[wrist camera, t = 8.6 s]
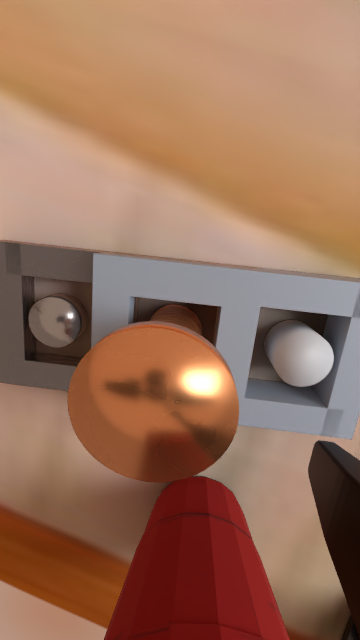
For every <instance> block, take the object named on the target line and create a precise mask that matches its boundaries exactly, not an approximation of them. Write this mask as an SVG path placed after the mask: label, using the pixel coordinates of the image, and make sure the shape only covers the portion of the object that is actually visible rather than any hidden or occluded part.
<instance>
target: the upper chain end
mask: <svg viewBox="0 0 360 640" xmlns="http://www.w3.org/2000/svg"><path fill="white" fill-rule="evenodd" d="M259 269H261V270H259ZM259 269H249V268H240V267H231V266H222V265H212V264H203V263H194V262H185V261H175V260H166V259H157V258H148V257H138V256H129V255H120V254H111V253H95V254H93V290H92V333H91V349H92V348H93V347H94V346H95V345H96V344H97V343H98V342H99V341H100V340H101V339H102V338H103V337H105V336H106V335H108V334H109V333H110V332H112V331H114V330H116V329H118V328H120V327H123V326H126V325H129V324H132V323H133V314H134V297H142V298H151V299H159V300H168V301H177V302H186V303H195V304H204V305H212V306H219V313H218V320H217V327H216V334H215V341H214V347H215V348H216V349H217V350H218V351H219V352H220V353H221V355H222V356H223V358H224V359H225V360H226V362H227V364H228V366H229V368H230V370H231V373H232V375H233V378H234V382H235V386H236V391H237V395H238V400H239V420H238V425H242V426H250V427H257V428H265V429H273V430H281V431H289V432H297V433H304V434H312V435H320V436H328V437H336V438H344V439H351V440H352V437H353V434H354V431H355V427H356V424H357V421H358V417H359V414H360V279H359V278H349V277H340V276H331V275H322V274H312V273H303V272H294V271H285V270H275V269H266V268H259ZM261 307H267V308H276V309H285V310H294V311H303V312H312V313H321V314H328V317H327V321H326V326H325V330H324V334H323V337H321V336H320V335H319V334H318V333H316V332H315V331H314V330H313V329H312V328H310V327H309V326H308V325H307V324H305V323H303V322H301V321H298V320H286V321H282V322H280V323H278V324H276V325H275V326H273V327H272V328H271V329H270V331H269V332H268V334H267V335H266V338H265V343H264V347H265V352H266V354H267V356H268V358H269V360H270V361H271V363H272V365H273V367H274V368H275V370H276V372H277V374H278V375H279V377H280V378H281V379H282V380H283V381H285V382H286V383H283V382H274V381H266V380H258V379H250V378H248V375H249V370H250V364H251V358H252V353H253V347H254V341H255V336H256V330H257V325H258V319H259V313H260V308H261ZM310 385H311V386H310Z"/></svg>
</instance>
